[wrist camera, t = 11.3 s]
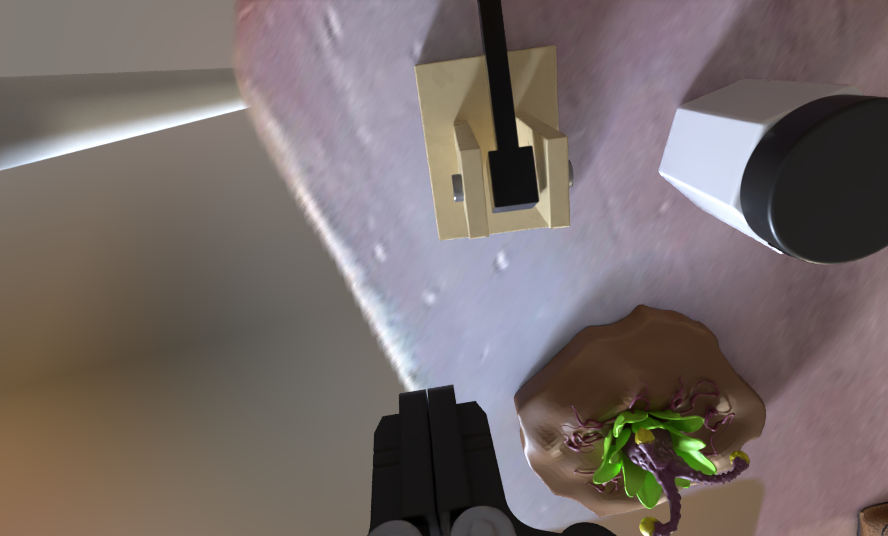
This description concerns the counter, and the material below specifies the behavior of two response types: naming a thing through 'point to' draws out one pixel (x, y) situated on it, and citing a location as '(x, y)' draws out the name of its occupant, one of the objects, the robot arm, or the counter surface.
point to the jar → (787, 165)
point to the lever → (504, 122)
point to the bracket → (492, 142)
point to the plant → (638, 416)
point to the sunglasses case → (873, 520)
